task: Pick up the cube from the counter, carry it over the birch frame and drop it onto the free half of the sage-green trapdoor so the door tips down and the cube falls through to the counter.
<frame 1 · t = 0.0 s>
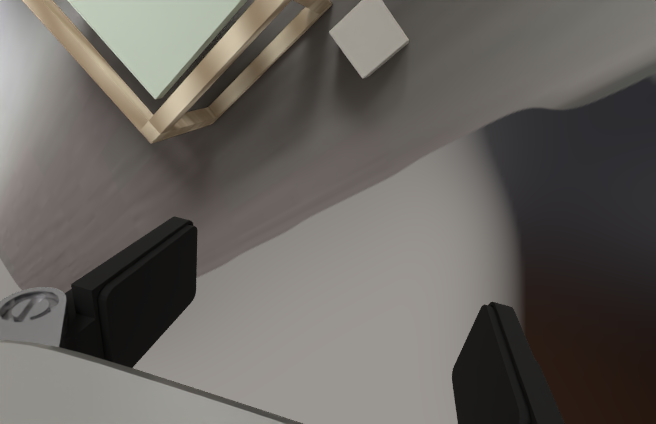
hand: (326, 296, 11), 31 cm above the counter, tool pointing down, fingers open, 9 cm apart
cube: (374, 39, 36), on the counter
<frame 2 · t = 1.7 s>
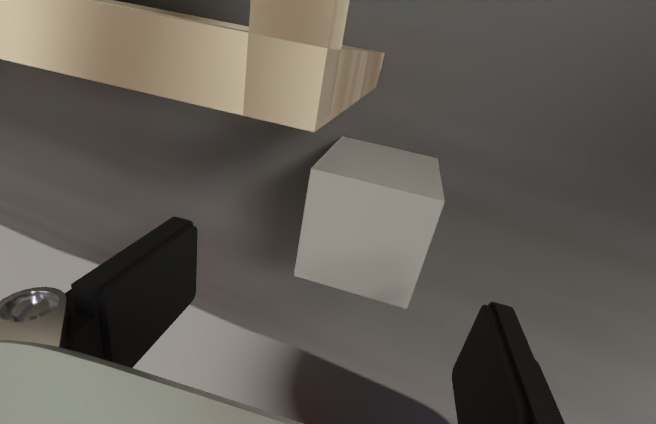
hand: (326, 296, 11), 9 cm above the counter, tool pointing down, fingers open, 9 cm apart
cube: (377, 190, 19), on the counter
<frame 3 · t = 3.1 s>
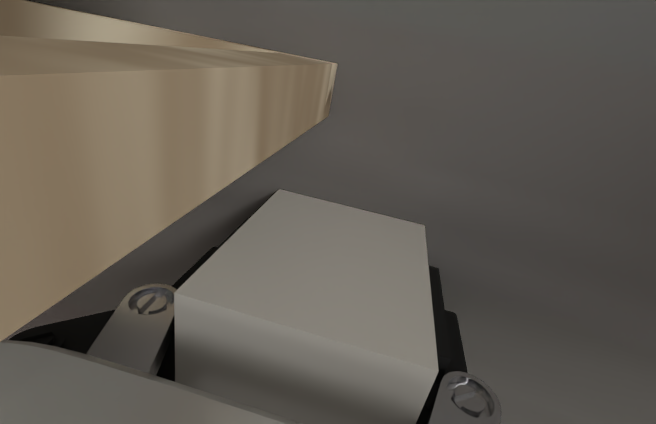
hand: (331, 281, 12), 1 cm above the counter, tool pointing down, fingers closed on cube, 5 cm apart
cube: (336, 268, 13), on the counter, touching gripper
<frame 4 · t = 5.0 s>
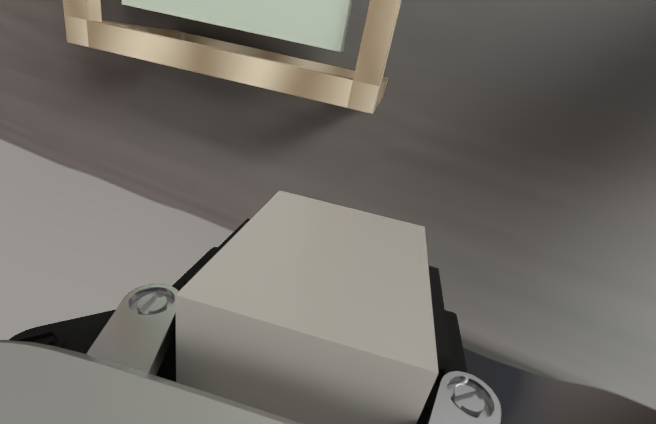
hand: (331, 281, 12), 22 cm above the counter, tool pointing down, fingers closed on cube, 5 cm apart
cube: (336, 269, 13), point 21 cm above the counter, touching gripper
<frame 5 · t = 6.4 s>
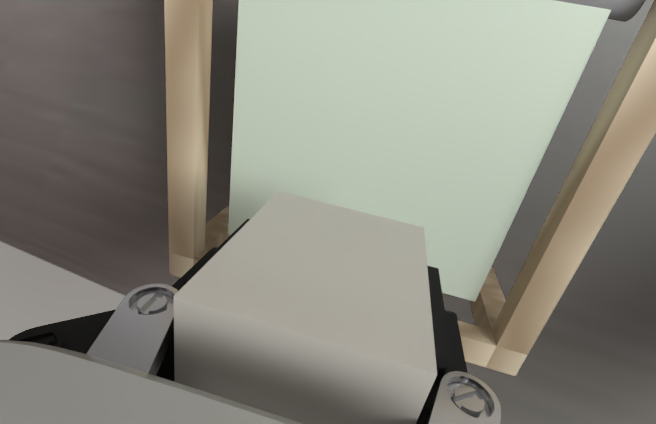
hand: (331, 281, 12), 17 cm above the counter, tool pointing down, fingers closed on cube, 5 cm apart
frame: (388, 113, 25), on the counter
cube: (335, 270, 13), point 16 cm above the counter, touching gripper
trapdoor: (377, 133, 16), point 10 cm above the counter, hinge at -1.9°
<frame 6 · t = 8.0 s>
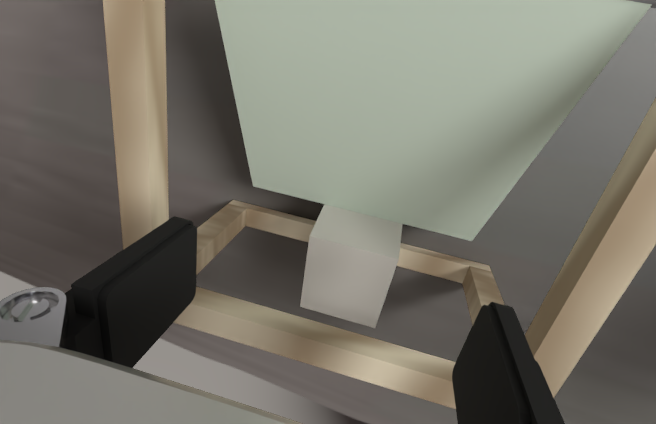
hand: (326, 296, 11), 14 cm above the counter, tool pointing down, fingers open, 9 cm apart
frame: (382, 120, 23), on the counter
cube: (360, 221, 21), point 4 cm above the counter, tilted 100°, touching frame, trapdoor
trapdoor: (379, 113, 16), point 7 cm above the counter, hinge at -30.7°, touching cube
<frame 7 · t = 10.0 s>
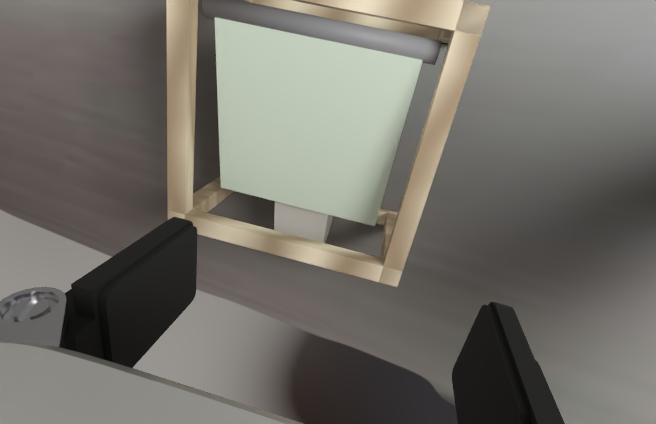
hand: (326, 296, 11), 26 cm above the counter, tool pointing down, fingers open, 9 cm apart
frame: (326, 115, 35), on the counter
cube: (309, 186, 33), point 5 cm above the counter, tilted 108°, touching frame, trapdoor
trapdoor: (307, 124, 27), point 9 cm above the counter, hinge at -11.1°, touching cube
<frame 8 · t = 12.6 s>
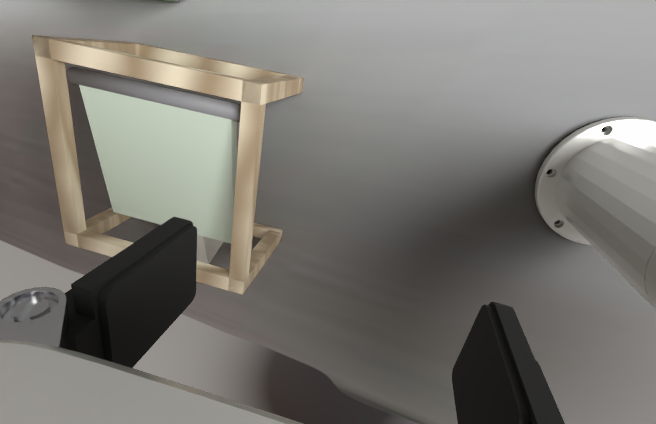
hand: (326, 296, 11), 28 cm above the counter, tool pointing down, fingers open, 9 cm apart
frame: (212, 148, 41), on the counter
cube: (192, 209, 40), point 5 cm above the counter, tilted 108°, touching frame, trapdoor
trapdoor: (166, 164, 33), point 9 cm above the counter, hinge at -10.5°, touching cube
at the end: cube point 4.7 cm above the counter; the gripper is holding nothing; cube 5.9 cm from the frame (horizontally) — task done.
